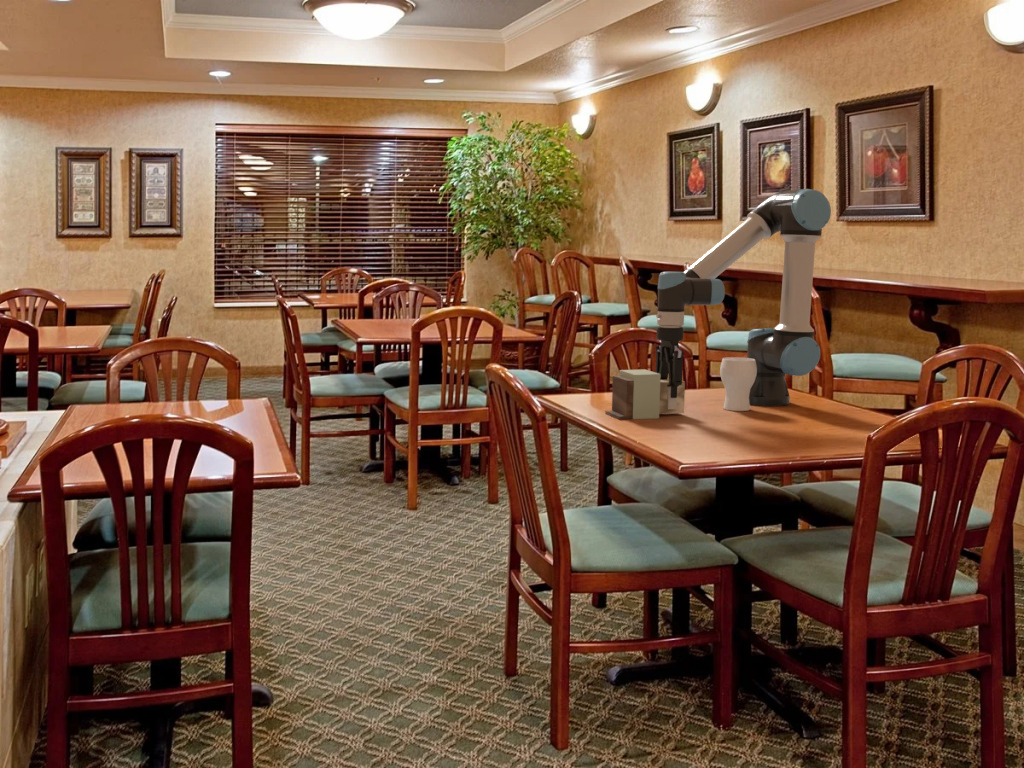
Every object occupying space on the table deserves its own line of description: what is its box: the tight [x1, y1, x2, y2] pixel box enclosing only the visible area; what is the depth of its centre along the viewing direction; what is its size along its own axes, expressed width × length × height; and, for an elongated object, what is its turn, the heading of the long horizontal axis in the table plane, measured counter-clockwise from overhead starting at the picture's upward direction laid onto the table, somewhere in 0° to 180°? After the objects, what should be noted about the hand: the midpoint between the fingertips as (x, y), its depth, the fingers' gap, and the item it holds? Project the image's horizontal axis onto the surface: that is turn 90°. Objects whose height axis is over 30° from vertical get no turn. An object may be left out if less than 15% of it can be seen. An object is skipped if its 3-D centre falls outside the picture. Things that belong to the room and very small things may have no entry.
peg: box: [659, 378, 686, 415], centre depth 303 cm, size 14×5×9 cm, turn 108°
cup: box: [719, 356, 757, 412], centre depth 315 cm, size 11×11×15 cm
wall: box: [604, 375, 634, 421], centre depth 299 cm, size 4×10×11 cm, turn 18°
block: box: [618, 368, 661, 420], centre depth 301 cm, size 8×10×12 cm
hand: (667, 407), depth 304 cm, fingers closed on peg, 5 cm apart
